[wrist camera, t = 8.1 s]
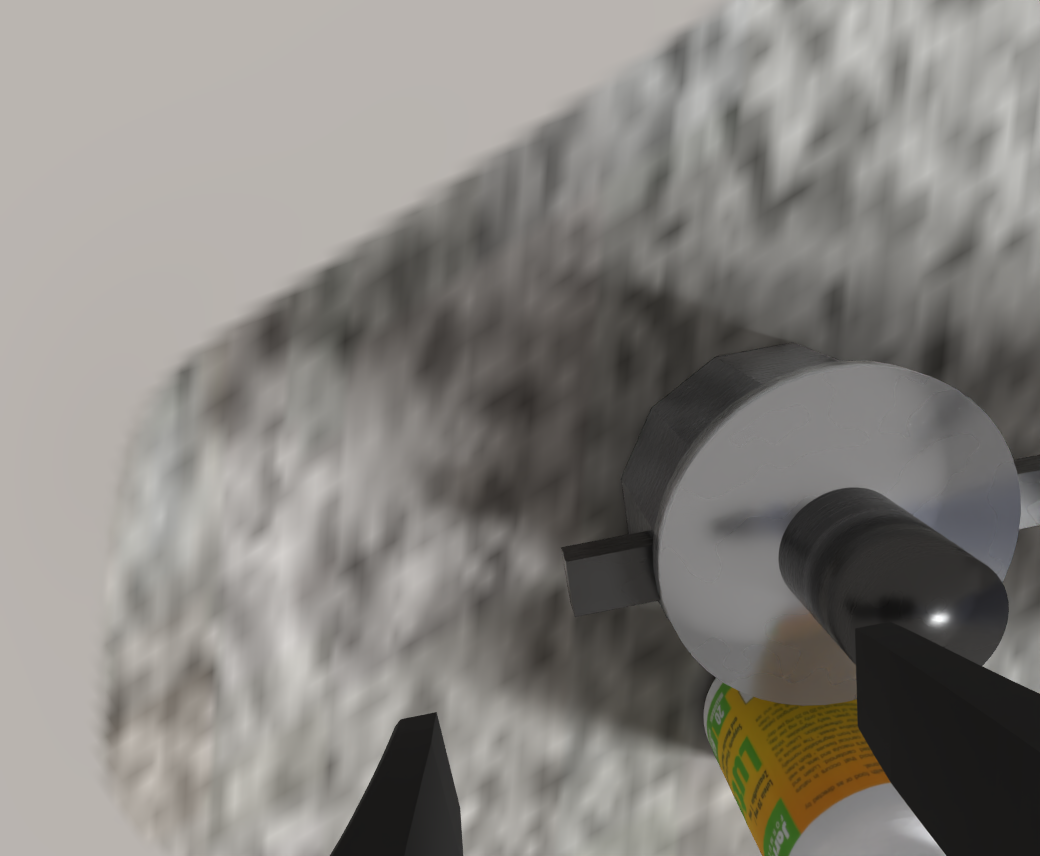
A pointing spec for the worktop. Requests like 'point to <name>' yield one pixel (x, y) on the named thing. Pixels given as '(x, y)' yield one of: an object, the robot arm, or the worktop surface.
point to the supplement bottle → (809, 779)
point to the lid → (836, 528)
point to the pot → (661, 445)
